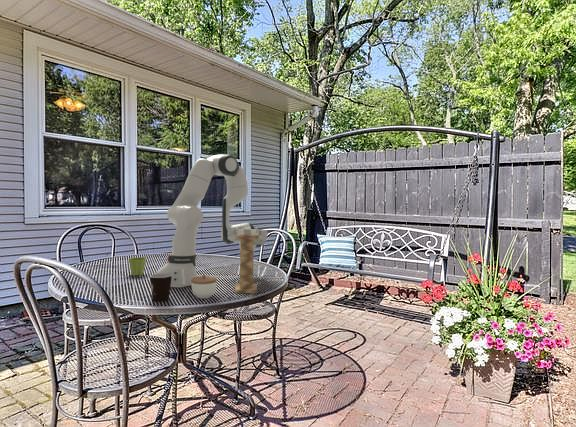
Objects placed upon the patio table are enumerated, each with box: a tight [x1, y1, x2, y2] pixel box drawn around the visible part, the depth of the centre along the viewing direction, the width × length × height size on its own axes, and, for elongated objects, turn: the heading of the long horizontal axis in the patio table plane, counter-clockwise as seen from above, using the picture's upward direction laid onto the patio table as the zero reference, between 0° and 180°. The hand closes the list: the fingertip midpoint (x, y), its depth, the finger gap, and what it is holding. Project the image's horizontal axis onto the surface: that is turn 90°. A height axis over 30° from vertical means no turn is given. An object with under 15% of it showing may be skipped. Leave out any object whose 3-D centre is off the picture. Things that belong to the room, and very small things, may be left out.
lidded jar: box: [190, 274, 218, 299], centre depth 156 cm, size 11×11×9 cm
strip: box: [238, 226, 256, 235], centre depth 174 cm, size 8×20×2 cm, turn 6°
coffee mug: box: [149, 273, 172, 303], centre depth 151 cm, size 12×9×10 cm
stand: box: [234, 233, 258, 294], centre depth 169 cm, size 10×12×26 cm
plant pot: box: [127, 257, 148, 276], centre depth 197 cm, size 9×9×9 cm
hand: (247, 228), depth 180 cm, fingers open, 7 cm apart
